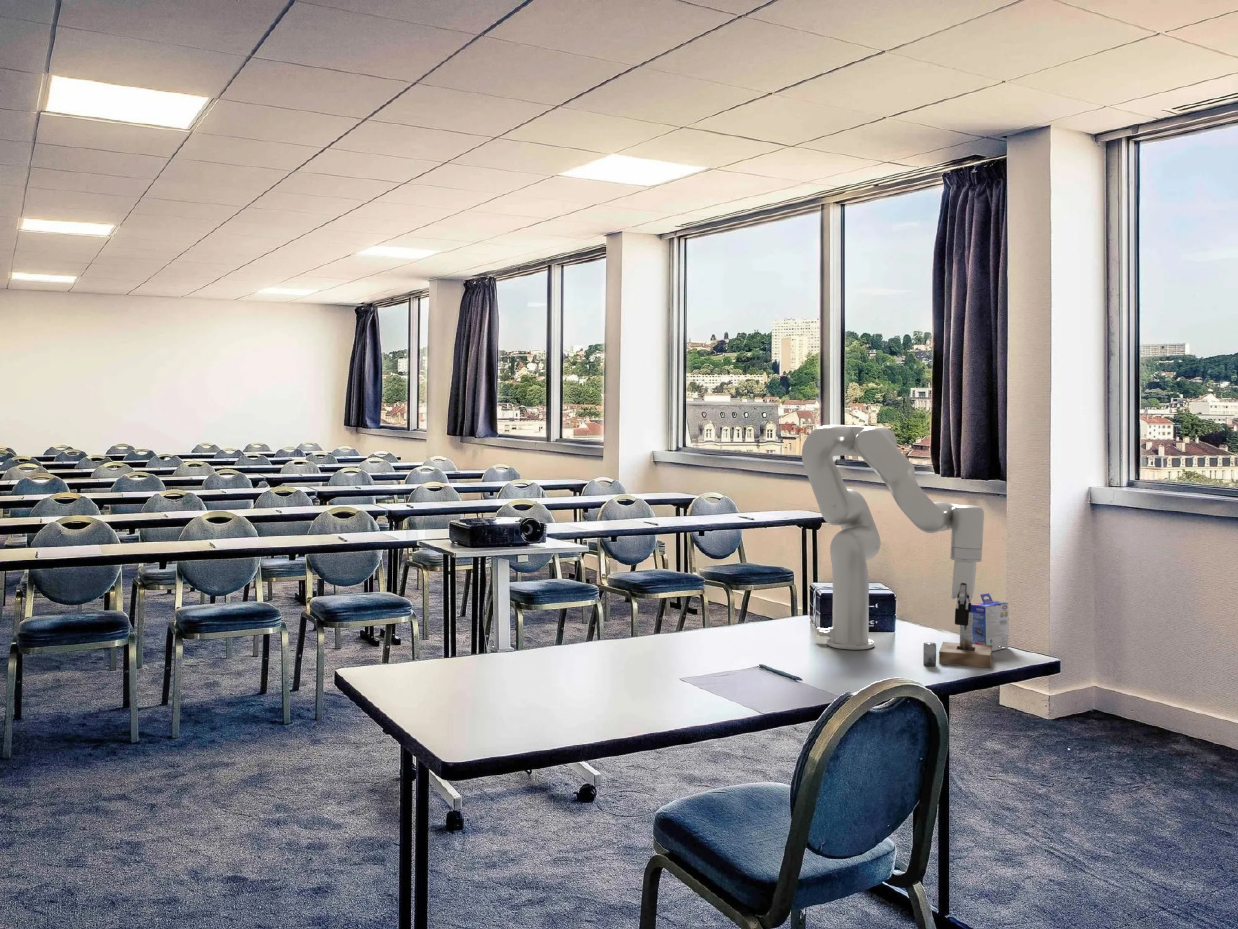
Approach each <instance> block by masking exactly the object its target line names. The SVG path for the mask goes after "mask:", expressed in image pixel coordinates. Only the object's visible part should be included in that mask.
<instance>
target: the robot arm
mask: <svg viewBox="0 0 1238 929" xmlns="http://www.w3.org/2000/svg"><path fill="white" fill-rule="evenodd" d="M897 445H898V440H897V437H896V434H894V432H893V431H892V430H891V429H889V428H887V427H883V426H864V425H862V426H861V425H849V424H847V425H845V424H824V425H821V426H818V427H816V428H814V429H813V430H812V431H811V432H810V433H809V434H808V435H807V436H806V438H805V440H804V442H803V444H802V449H801V460H802V465H803V468H804V470H805V473H806V475H807V478H808V480H809V483H810V486H811V489H812V492H813V494H814V497H815V499H816V503H817V506H818V507H819V511H820V513H821V516H822V518H823V520H824V521H825V522H826V523H827V524H828V525H831V526H840V527H841V530H840V531H838V532H837V533H836V534H834V536H833V537H832V540H831V541H830V546H829V552H830V553H829V556H830V560H831V570H832V626H831V627H828V628H824V627H817V628H816V632H815V633H816V635H817V636H819V637H828V638H827V639H826V645H827V646H829V647H832V648H834V649H841V650H848V651H849V650H855V651H856V650H857V651H859V650H860V651H861V650H867V649H872V648H874V647H875V641H874V640H873V639H871V638H869V630H870V629H869V628H870V626H869V623H870V622H869V619H870V616H869V612H870V609H869V608H870V598H869V597H870V595H869V594H870V585H869V584H870V579H869V577H870V576H869V570H868V569H869V568H868V566H867V565H868V564H867V561H868V560H871V559H873V558H874V557H876V556H877V555H878V553H879V552H880V549H881V538H880V534H879V530H878V528H877V526H876V523H875V520H874V517H873V515H872V512H871V510H870V507H869V505H868V502H867V501H866V499H865V498H864V496H863V495H862V494H861V493H860V492H858V491H857V490H855V489H850V488H847V486H846V484H845V482H844V480H843V477H842V473H841V471H840V470H839V468H838V466H837V465H836V463H835V462H834V461H835V460H834V457H839V456H847V457H848V456H850V457H860V458H862V459H863V460H864V462H865V463H866V464H867V465H868V466H869V467H870V468H871V469H872V470H873V471H874V473H875V474H876V475H877V476H878V477H879V478H880V479H881V480H882V481H883V483H884V484H885V485H886V486H887V488H888V489H889V491H890V494H891V496H892V498H893V499H894V502H895V503H896V505H897V506H898V508H899V509H900V510H901V511H902V513H903V514H904V515H905V517H907V518H908V519H909V520H910V522H911V523H912V524H914V526H915V527H917V529H919V530H920V531H922V532H923V533H927V534H935V533H938V532H943V531H945V532H946V531H951V535H950V540H951V541H950V554H949V556H950V558H949V559H950V560H951V561H952V560H953V569H952V570H953V571H952V588H951V599H952V600H955V599H956V604H955V605H956V606H955V611H954V625H956V626H960V625H964V626H967V625H968V620H969V612H970V613H971V605H972V602H971V601H972V600H973V597H974V593H975V591H974V590H975V585H976V576H977V574H976V573H977V563H979V562H982V560H983V540H984V523H985V522H984V521H985V510H984V509H983V507H981V506H978V505H971V504H956V503H951V502H947V501H933V500H932V499H931V498H930V497H929V496H928V495H927V494H926V493H925V492H924V490H923V489H922V487H921V486H920V485H919V484H918V482H917V479H916V471H915V466H914V464H913V463H912V462H911V461H910V460H909V459H908V458H907V457H906V455H905V454H903V453H902V451H901V450H900V449H899V448H898V446H897Z"/></svg>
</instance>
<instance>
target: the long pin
mask: <svg viewBox="0 0 1238 929" xmlns="http://www.w3.org/2000/svg"><path fill="white" fill-rule="evenodd" d="M972 617H973V613H970V612H969V620H968V625H967V626H964V625H959V643H960V650H969V651H972Z"/></svg>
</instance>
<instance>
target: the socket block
mask: <svg viewBox="0 0 1238 929" xmlns="http://www.w3.org/2000/svg"><path fill="white" fill-rule="evenodd" d="M992 659H993V651H992V645H978V644H972V651H969V650H960V642H949V641H948V642H947V641H942V644H941V646H940V649H939V653H938V664H942V665H952V666H953V665H956V666H965V667H978V668H979V667H982V668H991V665H992Z"/></svg>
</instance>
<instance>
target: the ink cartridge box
mask: <svg viewBox="0 0 1238 929" xmlns="http://www.w3.org/2000/svg"><path fill="white" fill-rule="evenodd" d="M986 597H987V598H986ZM980 598H981V600H982V602H978V603H973V604H972V603H971V613H973V617H972V644H978V645H992V652H994V651H999V650H1004V649H1008V648H1009V647H1010V646H1009V644H1010V643H1009V639H1010V638H1009V603H1008V602H1005V601H1004V602H1003V601H998V600H993V599H992V597H991V594H990V593H982V594H980ZM985 598H986V599H985ZM999 646H1000V647H999ZM1002 647H1006V648H1002Z"/></svg>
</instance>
